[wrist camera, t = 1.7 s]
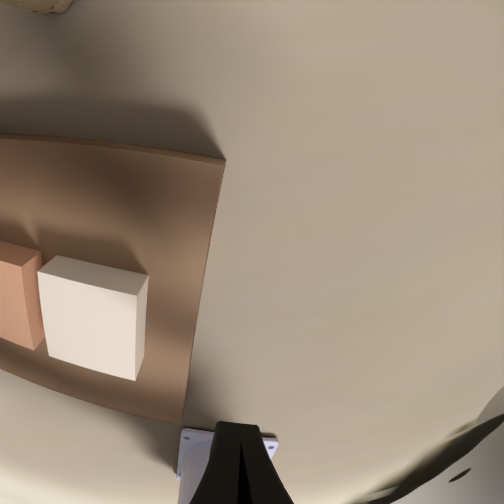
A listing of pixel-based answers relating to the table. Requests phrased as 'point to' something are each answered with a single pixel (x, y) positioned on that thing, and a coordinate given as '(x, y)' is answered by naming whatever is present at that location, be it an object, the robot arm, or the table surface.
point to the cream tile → (94, 315)
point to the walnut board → (115, 251)
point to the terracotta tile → (20, 295)
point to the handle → (40, 5)
